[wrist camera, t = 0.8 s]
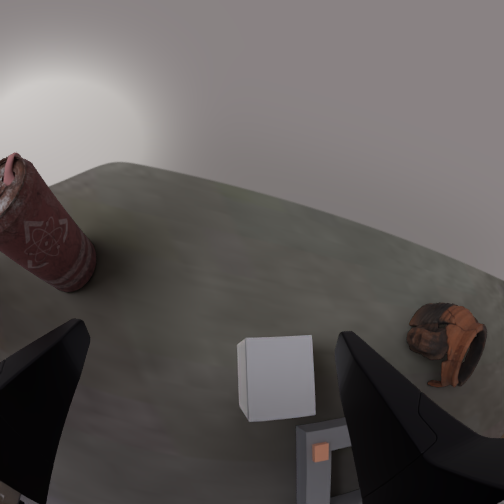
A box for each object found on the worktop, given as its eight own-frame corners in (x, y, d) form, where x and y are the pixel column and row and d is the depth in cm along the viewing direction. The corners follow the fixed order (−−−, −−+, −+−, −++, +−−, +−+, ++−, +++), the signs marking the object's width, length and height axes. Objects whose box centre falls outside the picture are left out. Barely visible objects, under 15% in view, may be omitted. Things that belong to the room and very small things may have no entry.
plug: (288, 402, 22) (315, 414, 16) (239, 405, 21) (249, 421, 15) (285, 342, 24) (311, 334, 18) (237, 344, 24) (246, 337, 17)
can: (99, 231, 26) (40, 138, 13) (97, 291, 23) (14, 221, 11) (53, 238, 24) (-16, 159, 12) (48, 295, 22) (-42, 236, 9)
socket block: (385, 493, 18) (403, 503, 15) (296, 519, 17) (307, 535, 13) (390, 405, 23) (411, 407, 19) (295, 425, 21) (308, 434, 18)
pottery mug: (447, 299, 29) (497, 314, 21) (425, 366, 29) (470, 389, 21) (394, 290, 25) (460, 311, 17) (367, 376, 25) (421, 413, 17)
